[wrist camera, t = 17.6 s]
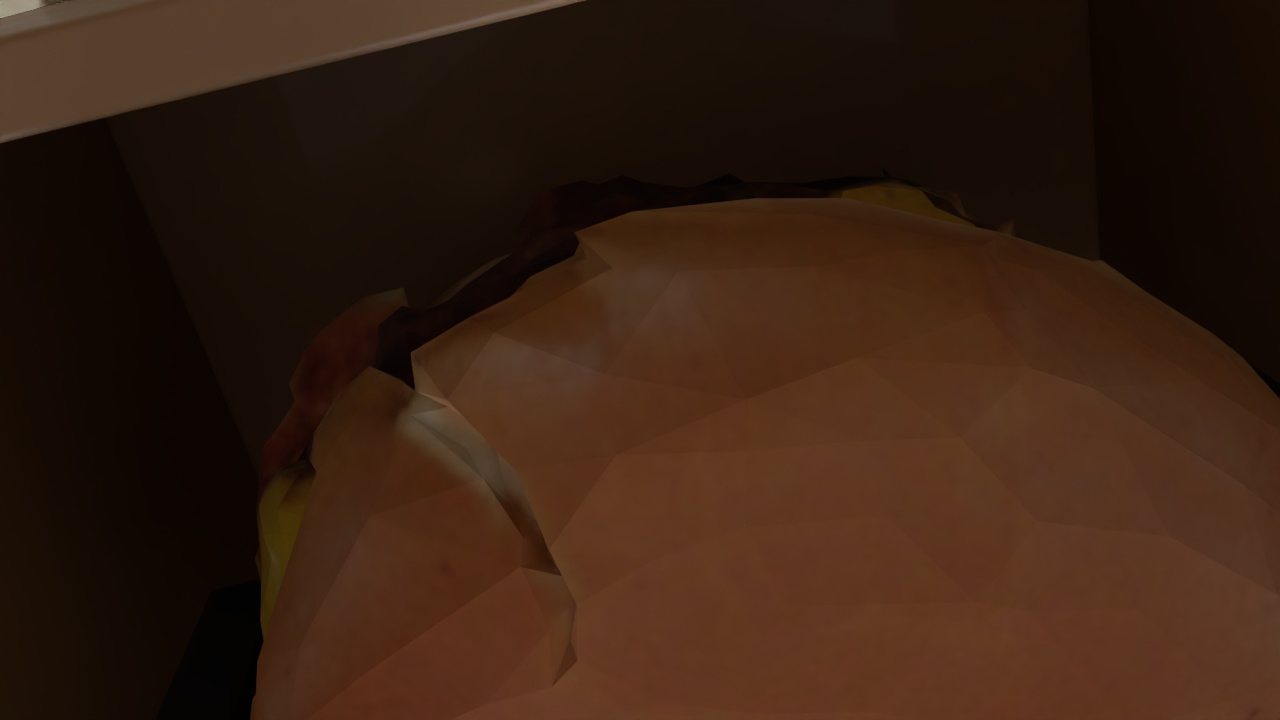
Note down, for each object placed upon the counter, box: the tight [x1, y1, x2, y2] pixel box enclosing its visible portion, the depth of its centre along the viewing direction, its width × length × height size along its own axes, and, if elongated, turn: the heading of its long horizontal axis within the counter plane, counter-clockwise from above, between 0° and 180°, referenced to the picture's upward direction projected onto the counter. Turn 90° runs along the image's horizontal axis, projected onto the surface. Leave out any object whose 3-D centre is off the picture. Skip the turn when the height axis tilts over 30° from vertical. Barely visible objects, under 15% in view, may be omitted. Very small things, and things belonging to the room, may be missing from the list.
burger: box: [250, 169, 1280, 720], centre depth 10 cm, size 10×9×5 cm
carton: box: [0, 0, 1280, 720], centre depth 13 cm, size 14×14×10 cm
